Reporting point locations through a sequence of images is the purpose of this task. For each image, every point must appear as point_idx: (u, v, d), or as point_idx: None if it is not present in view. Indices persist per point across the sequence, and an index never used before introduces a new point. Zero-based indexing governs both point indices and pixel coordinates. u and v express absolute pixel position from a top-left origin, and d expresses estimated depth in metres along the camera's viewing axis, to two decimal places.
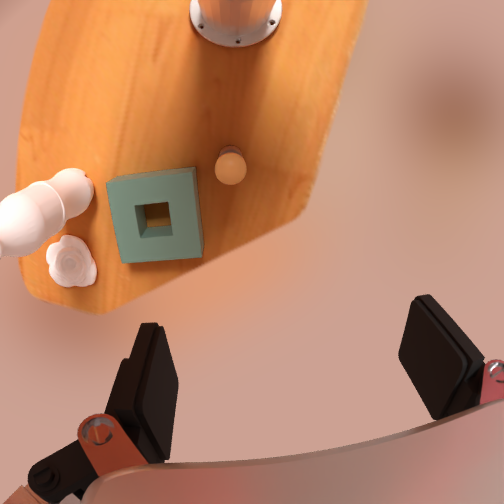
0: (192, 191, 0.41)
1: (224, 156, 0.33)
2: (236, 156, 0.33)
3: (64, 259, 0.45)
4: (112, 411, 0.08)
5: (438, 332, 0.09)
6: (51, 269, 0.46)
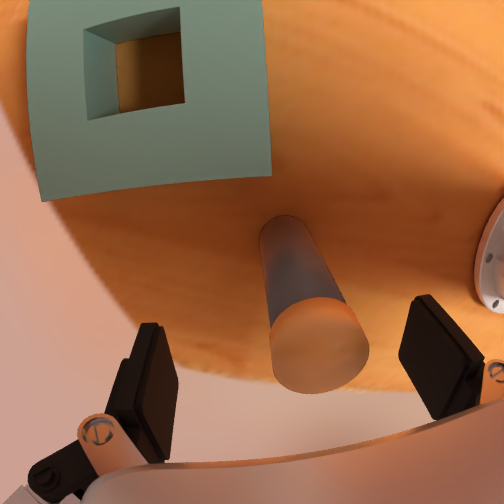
0: (214, 175, 0.14)
1: (365, 344, 0.10)
2: (357, 371, 0.11)
3: None
4: (112, 411, 0.08)
5: (438, 332, 0.09)
6: None
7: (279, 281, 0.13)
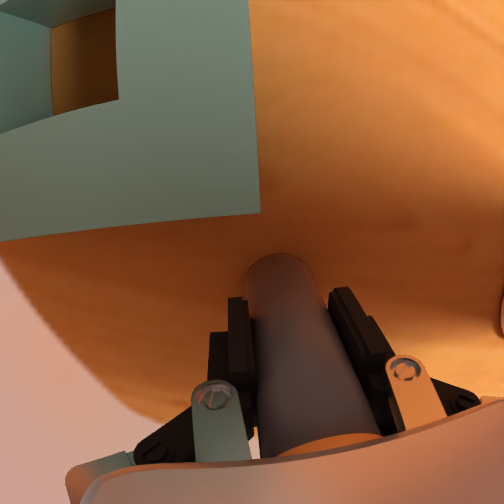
0: (169, 213, 0.09)
1: None
2: None
3: None
4: (215, 379, 0.09)
5: None
6: None
7: (273, 386, 0.08)
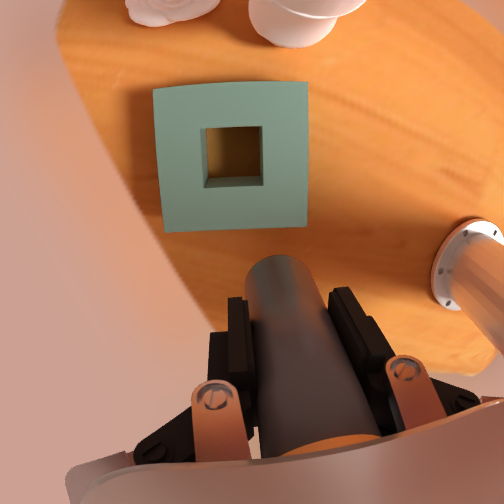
0: (276, 225, 0.27)
1: None
2: None
3: None
4: (215, 379, 0.09)
5: None
6: None
7: (274, 388, 0.08)
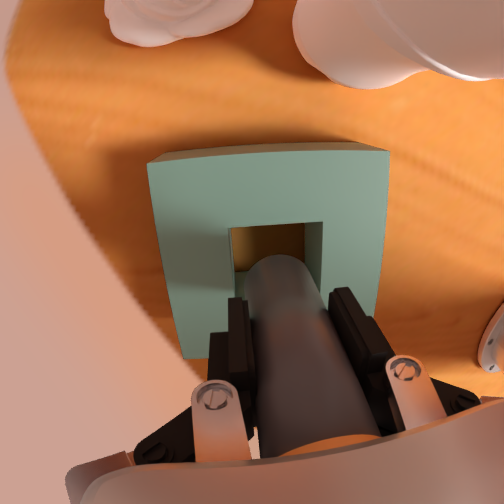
0: None
1: None
2: None
3: None
4: (215, 379, 0.09)
5: None
6: None
7: (273, 387, 0.08)
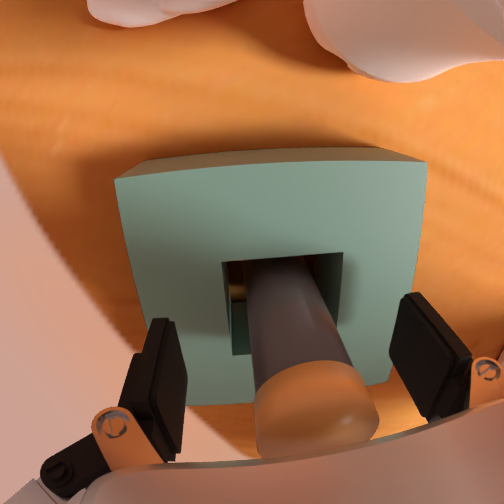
0: None
1: (374, 418, 0.07)
2: None
3: None
4: (125, 405, 0.08)
5: (426, 329, 0.09)
6: None
7: (265, 330, 0.10)
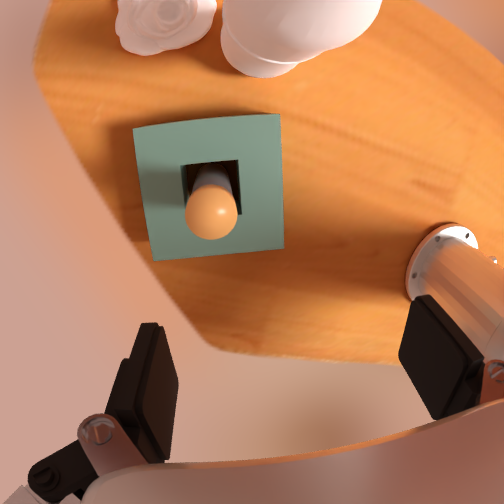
0: (256, 249, 0.29)
1: (233, 205, 0.21)
2: (233, 223, 0.21)
3: (178, 1, 0.20)
4: (112, 411, 0.08)
5: (438, 332, 0.09)
6: None
7: (195, 186, 0.23)
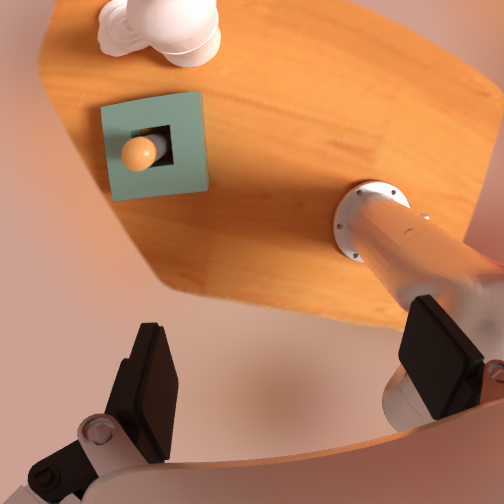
0: (185, 191, 0.38)
1: (151, 147, 0.29)
2: (151, 159, 0.29)
3: None
4: (112, 411, 0.08)
5: (438, 332, 0.09)
6: None
7: None
